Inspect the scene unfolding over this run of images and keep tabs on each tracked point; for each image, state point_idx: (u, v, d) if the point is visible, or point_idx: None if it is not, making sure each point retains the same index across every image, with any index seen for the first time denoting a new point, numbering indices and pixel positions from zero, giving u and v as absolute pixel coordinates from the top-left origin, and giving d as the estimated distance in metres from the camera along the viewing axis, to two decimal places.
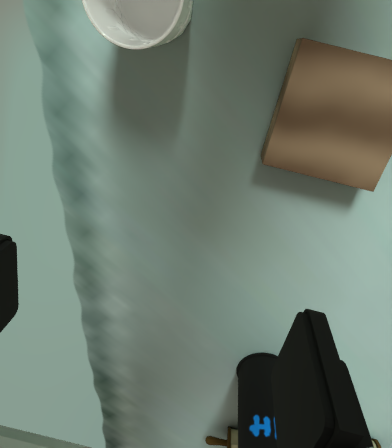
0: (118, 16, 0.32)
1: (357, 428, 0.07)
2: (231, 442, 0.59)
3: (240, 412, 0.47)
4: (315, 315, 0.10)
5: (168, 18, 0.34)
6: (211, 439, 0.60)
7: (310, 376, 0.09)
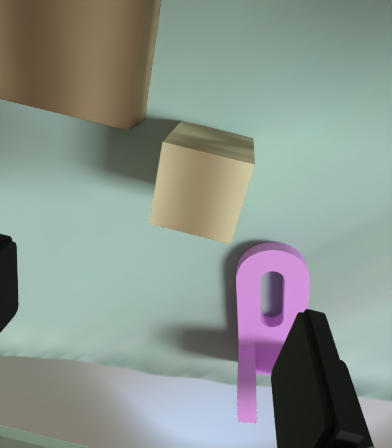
0: None
1: (357, 427, 0.07)
2: None
3: None
4: (315, 315, 0.10)
5: None
6: None
7: (310, 376, 0.09)
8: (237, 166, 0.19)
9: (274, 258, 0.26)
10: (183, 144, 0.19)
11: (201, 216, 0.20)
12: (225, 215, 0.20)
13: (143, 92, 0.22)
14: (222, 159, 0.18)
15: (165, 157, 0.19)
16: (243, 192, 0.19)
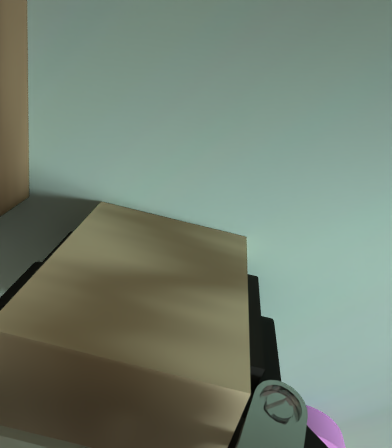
0: None
1: (260, 363, 0.08)
2: None
3: None
4: (248, 277, 0.11)
5: None
6: None
7: None
8: (202, 394, 0.07)
9: None
10: (53, 322, 0.07)
11: None
12: None
13: (2, 152, 0.10)
14: (158, 377, 0.06)
15: (2, 361, 0.07)
16: (220, 444, 0.07)
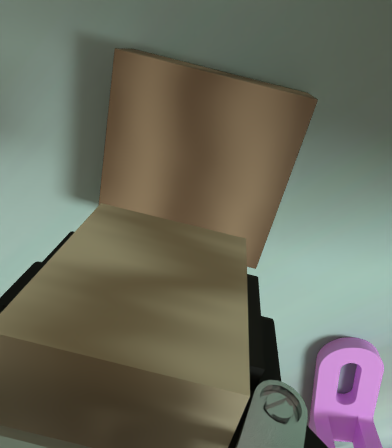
0: None
1: (260, 362, 0.08)
2: None
3: None
4: (248, 277, 0.11)
5: None
6: None
7: None
8: (201, 396, 0.07)
9: (355, 353, 0.31)
10: (53, 324, 0.07)
11: None
12: None
13: None
14: (157, 380, 0.06)
15: (2, 364, 0.07)
16: (220, 446, 0.07)
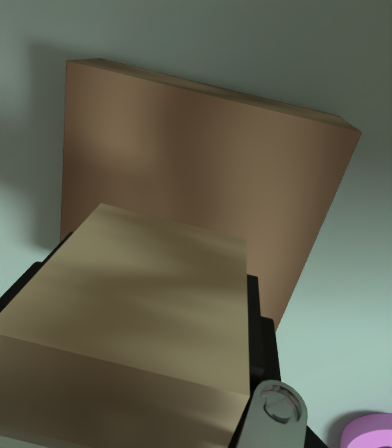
0: None
1: (260, 363, 0.08)
2: None
3: None
4: (248, 277, 0.11)
5: None
6: None
7: None
8: (200, 397, 0.07)
9: None
10: (53, 324, 0.07)
11: None
12: None
13: None
14: (156, 380, 0.06)
15: (1, 364, 0.07)
16: (219, 446, 0.07)
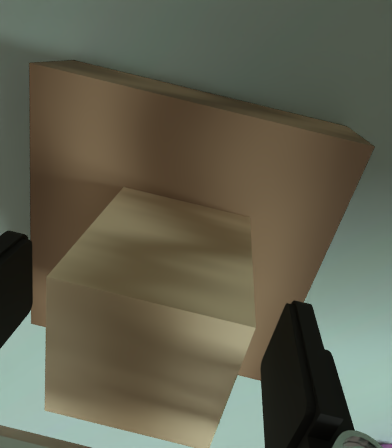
0: None
1: (338, 411, 0.07)
2: None
3: None
4: (302, 306, 0.10)
5: None
6: None
7: (295, 364, 0.09)
8: (217, 329, 0.08)
9: None
10: (98, 274, 0.09)
11: (145, 407, 0.10)
12: (195, 408, 0.10)
13: None
14: (182, 316, 0.08)
15: (58, 305, 0.09)
16: (231, 374, 0.09)
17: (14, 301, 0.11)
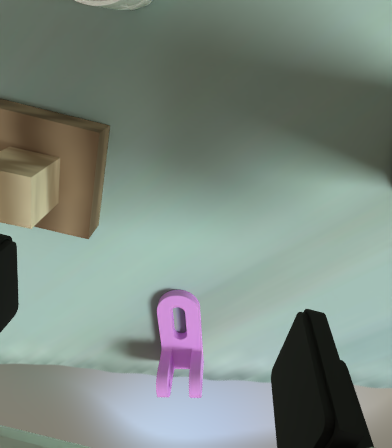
0: None
1: (357, 428, 0.07)
2: None
3: None
4: (315, 315, 0.10)
5: None
6: None
7: (310, 376, 0.09)
8: (21, 178, 0.30)
9: (177, 300, 0.45)
10: None
11: (7, 211, 0.31)
12: (22, 210, 0.31)
13: (96, 215, 0.40)
14: (10, 175, 0.29)
15: None
16: (29, 195, 0.30)
17: None
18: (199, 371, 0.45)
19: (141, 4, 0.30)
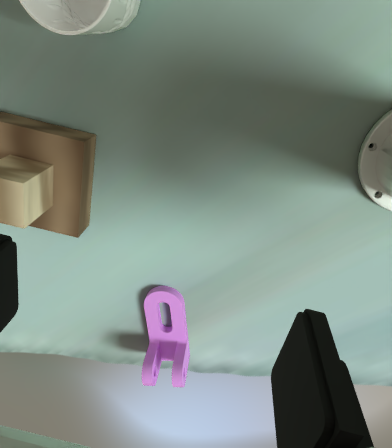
0: None
1: (357, 428, 0.07)
2: None
3: None
4: (315, 315, 0.10)
5: (89, 5, 0.33)
6: None
7: (310, 376, 0.09)
8: (14, 184, 0.34)
9: (162, 295, 0.48)
10: None
11: (4, 213, 0.35)
12: (16, 211, 0.35)
13: (86, 216, 0.44)
14: (5, 181, 0.34)
15: None
16: (22, 198, 0.34)
17: None
18: (182, 362, 0.48)
19: (118, 28, 0.33)
